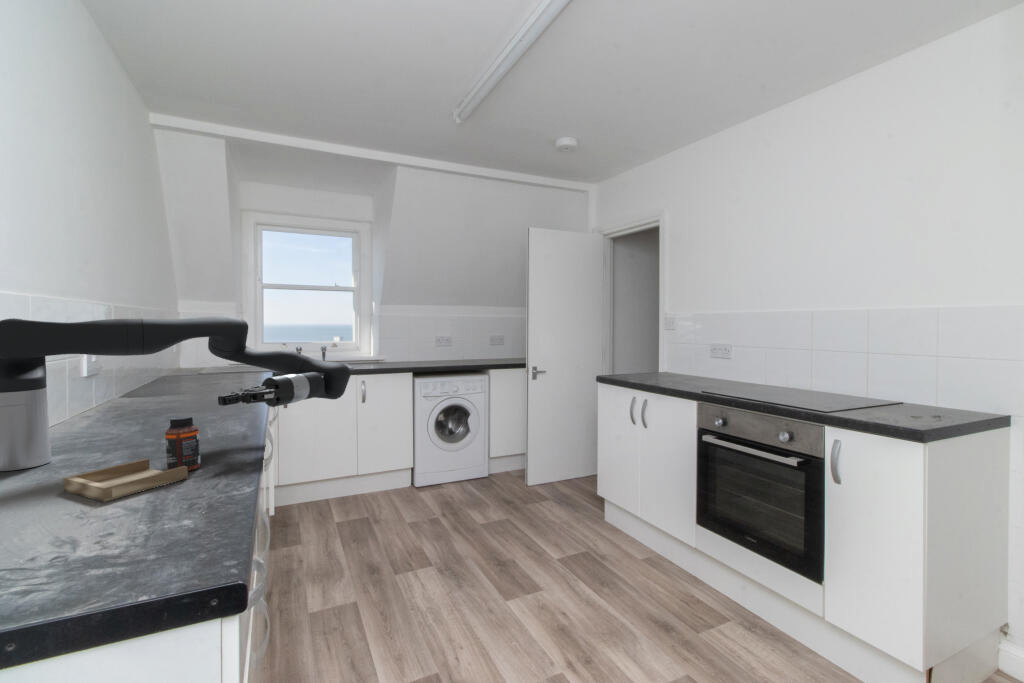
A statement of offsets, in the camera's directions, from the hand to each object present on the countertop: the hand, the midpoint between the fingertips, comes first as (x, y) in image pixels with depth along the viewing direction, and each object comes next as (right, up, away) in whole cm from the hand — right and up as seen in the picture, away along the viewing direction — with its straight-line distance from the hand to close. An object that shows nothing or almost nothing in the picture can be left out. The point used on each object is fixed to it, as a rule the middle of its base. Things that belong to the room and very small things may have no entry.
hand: (220, 401), depth 111 cm
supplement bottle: (-4, -14, -7) cm, 16 cm away
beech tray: (-8, -14, -16) cm, 23 cm away
